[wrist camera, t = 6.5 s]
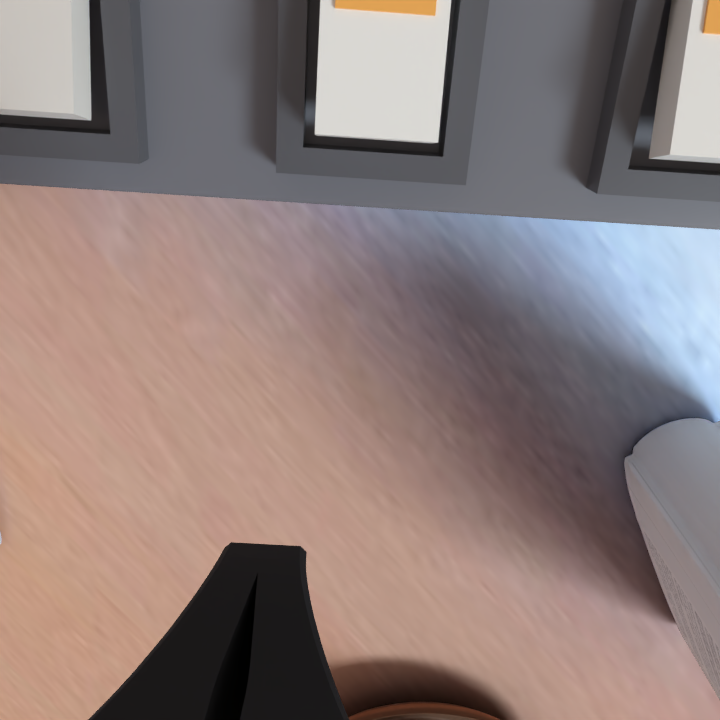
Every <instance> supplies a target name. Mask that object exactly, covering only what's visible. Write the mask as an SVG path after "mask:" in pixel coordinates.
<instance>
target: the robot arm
mask: <svg viewBox="0 0 720 720" xmlns="http://www.w3.org/2000/svg"><path fill="white" fill-rule="evenodd" d="M0 544H1V533H0ZM89 720H349V718H348V716H347V713H346V711H345V709H344V706H343V704H342V701H341V699H340V696H339V694H338V691H337V688H336V686H335V683H334V680H333V677H332V675H331V672H330V669H329V666H328V663H327V660H326V657H325V654H324V651H323V648H322V644H321V641H320V637H319V633H318V630H317V626H316V622H315V619H314V615H313V610H312V606H311V601H310V596H309V590H308V584H307V576H306V551H305V550H304V549H303V548H302V547H301V546H286V545H268V544H249V543H230V544H229V545H228V546H226V547H225V548H224V550H223V552H222V554H221V555H220V557H219V559H218V561H217V562H216V564H215V565H214V567H213V569H212V570H211V572H210V573H209V575H208V576H207V578H206V579H205V581H204V582H203V584H202V585H201V587H200V588H199V590H198V591H197V593H196V594H195V596H194V597H193V598H192V600H191V601H190V602H189V604H188V605H187V606H186V608H185V609H184V610H183V612H182V613H181V614H180V616H179V617H178V618H177V620H176V621H175V623H174V624H173V625H172V627H171V628H170V629H169V630H168V632H167V633H166V634H165V635H164V637H163V638H162V639H161V640H160V641H159V643H158V644H157V645H156V646H155V647H154V649H153V650H152V651H151V652H150V653H149V655H148V656H147V657H146V658H145V659H144V660H143V662H142V663H141V664H140V665H139V666H138V668H137V669H136V670H135V671H134V672H133V673H132V675H131V676H130V677H129V678H128V679H127V680H126V681H125V682H124V683H123V684H122V685H121V687H120V688H119V689H118V690H117V691H116V692H115V693H114V694H113V695H112V696H111V697H110V698H109V699H108V700H107V701H106V702H105V703H104V704H103V705H102V706H101V707H100V708H99V709H98V710H97V711H96V712H95V714H94V715H93V716H92V717H91V718H90V719H89Z"/></svg>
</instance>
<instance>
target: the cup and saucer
mask: <svg viewBox="0 0 720 720" xmlns="http://www.w3.org/2000/svg"><path fill="white" fill-rule="evenodd" d="M348 718H349V720H500V719H498V718H496V717H493V716H491V715H489V714H486V713H483V712H481V711H478V710H475V709H471V708H467V707H464V706H459V705H454V704H448V703H439V702H405V703H395V704H390V705H384V706H379V707H375V708H371V709H368V710H365V711H362V712H359V713H356V714H354V715H351V716H349V717H348Z"/></svg>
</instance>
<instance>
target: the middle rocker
mask: <svg viewBox="0 0 720 720" xmlns="http://www.w3.org/2000/svg"><path fill="white" fill-rule="evenodd" d="M450 9H451V0H320V20H319V44H318V67H317V90H316V114H315V135H316V136H330V137H344V138H359V139H374V140H388V141H403V142H418V143H438V139H439V128H440V117H441V106H442V96H443V85H444V74H445V63H446V52H447V41H448V31H449V20H450Z"/></svg>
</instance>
